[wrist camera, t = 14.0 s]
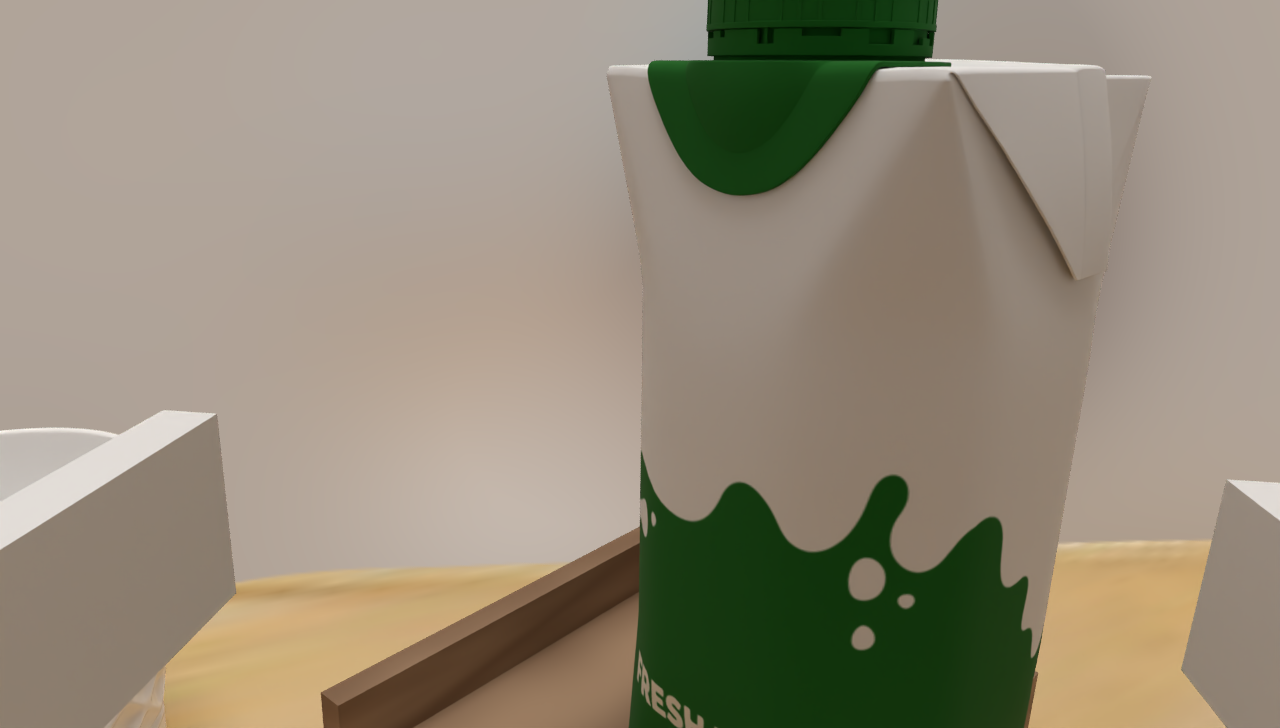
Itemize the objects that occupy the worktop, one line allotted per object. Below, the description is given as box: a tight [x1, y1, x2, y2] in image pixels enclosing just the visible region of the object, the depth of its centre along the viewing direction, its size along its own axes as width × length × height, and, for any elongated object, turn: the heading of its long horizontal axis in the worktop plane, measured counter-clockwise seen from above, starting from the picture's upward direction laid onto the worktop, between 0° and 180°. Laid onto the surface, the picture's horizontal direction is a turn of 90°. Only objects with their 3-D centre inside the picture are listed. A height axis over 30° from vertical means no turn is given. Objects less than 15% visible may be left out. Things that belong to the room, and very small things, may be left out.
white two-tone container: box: [607, 0, 1151, 728], centre depth 20 cm, size 9×9×20 cm
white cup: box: [0, 428, 166, 728], centre depth 24 cm, size 8×8×10 cm
